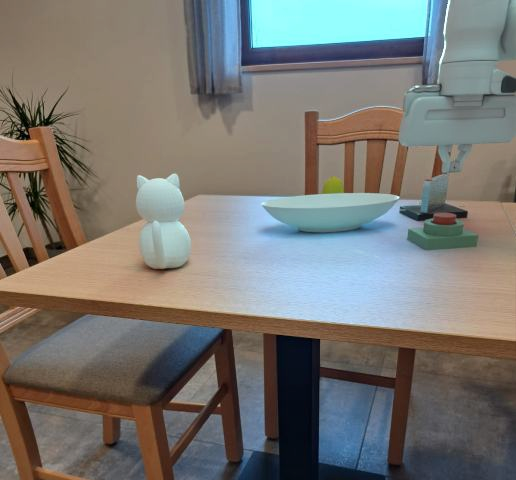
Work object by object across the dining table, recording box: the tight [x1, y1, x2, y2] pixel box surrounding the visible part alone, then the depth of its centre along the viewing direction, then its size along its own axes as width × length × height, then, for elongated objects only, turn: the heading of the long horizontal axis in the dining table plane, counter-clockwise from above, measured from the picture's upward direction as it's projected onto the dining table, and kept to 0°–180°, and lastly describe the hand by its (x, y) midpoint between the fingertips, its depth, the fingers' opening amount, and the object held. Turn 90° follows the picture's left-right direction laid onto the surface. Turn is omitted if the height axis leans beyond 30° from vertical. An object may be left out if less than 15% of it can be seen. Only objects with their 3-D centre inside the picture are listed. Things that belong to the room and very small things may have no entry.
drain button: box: [433, 213, 457, 225], centre depth 87 cm, size 4×4×2 cm
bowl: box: [261, 192, 400, 233], centre depth 100 cm, size 30×15×6 cm, turn 97°
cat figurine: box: [135, 173, 192, 270], centre depth 78 cm, size 9×12×15 cm
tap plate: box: [399, 201, 469, 222], centre depth 110 cm, size 16×16×2 cm
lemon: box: [321, 175, 345, 194], centre depth 119 cm, size 6×6×8 cm
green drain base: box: [406, 218, 479, 251], centre depth 88 cm, size 10×8×4 cm
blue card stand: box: [420, 173, 450, 213], centre depth 108 cm, size 12×2×7 cm, turn 142°
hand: (451, 172), depth 83 cm, fingers closed
